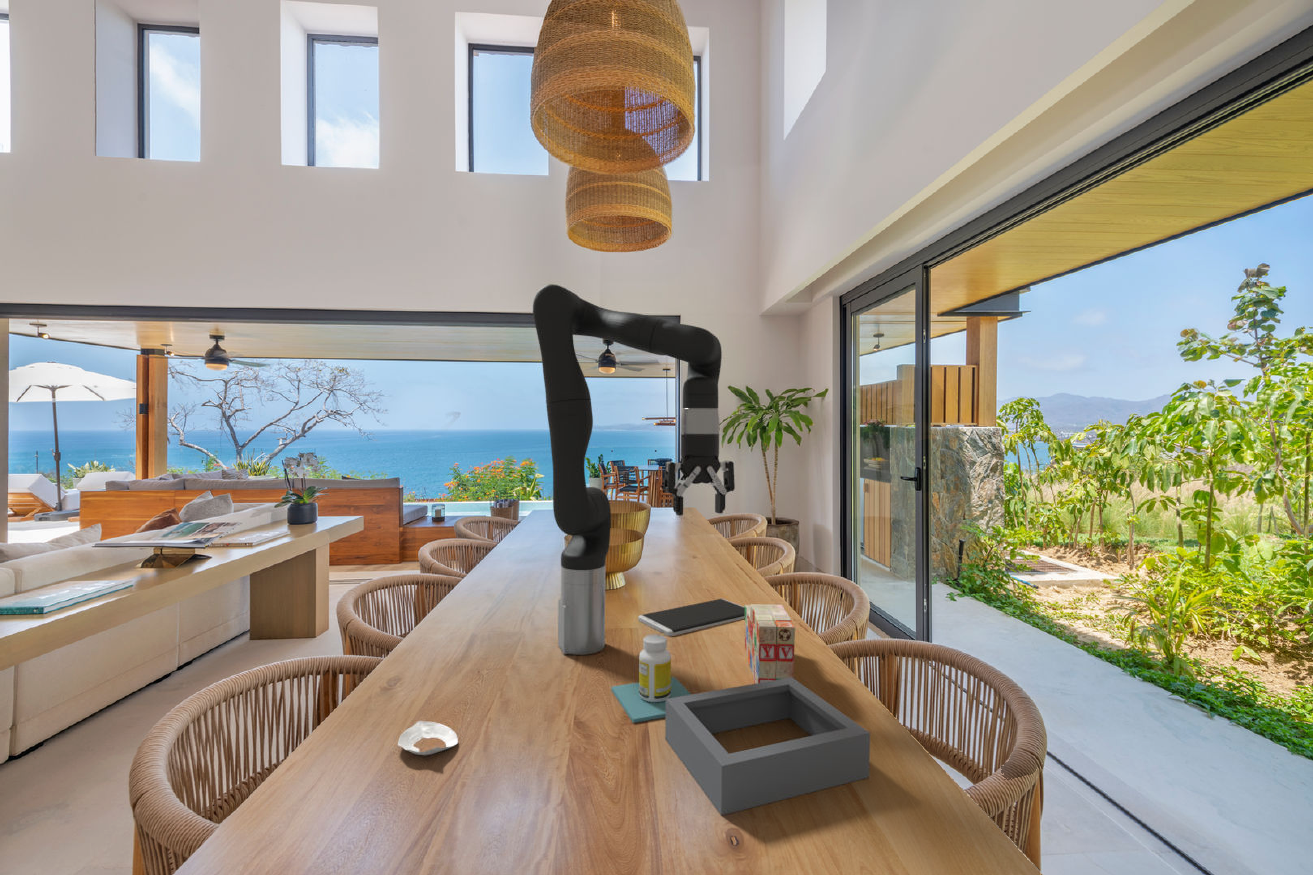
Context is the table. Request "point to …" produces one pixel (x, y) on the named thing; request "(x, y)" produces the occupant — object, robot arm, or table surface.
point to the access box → (769, 769)
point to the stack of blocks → (769, 642)
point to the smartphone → (693, 617)
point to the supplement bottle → (655, 669)
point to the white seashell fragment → (427, 736)
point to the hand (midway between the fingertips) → (699, 514)
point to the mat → (641, 708)
